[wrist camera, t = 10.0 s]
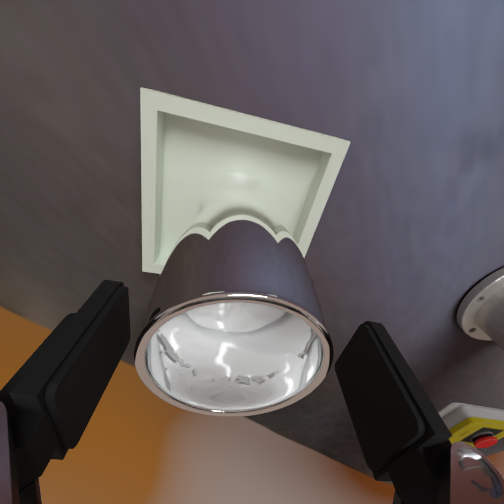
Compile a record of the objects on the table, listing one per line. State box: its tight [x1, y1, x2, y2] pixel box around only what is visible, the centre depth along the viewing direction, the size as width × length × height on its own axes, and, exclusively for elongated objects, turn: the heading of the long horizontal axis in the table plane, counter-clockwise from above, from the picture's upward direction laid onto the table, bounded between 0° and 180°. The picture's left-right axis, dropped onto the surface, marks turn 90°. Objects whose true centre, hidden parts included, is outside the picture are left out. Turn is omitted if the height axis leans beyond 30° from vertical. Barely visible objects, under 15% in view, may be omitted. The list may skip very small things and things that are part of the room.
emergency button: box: [438, 403, 504, 448], centre depth 44 cm, size 9×4×15 cm
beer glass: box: [134, 171, 333, 417], centre depth 14 cm, size 7×7×15 cm
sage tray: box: [140, 87, 350, 274], centre depth 20 cm, size 14×14×2 cm
